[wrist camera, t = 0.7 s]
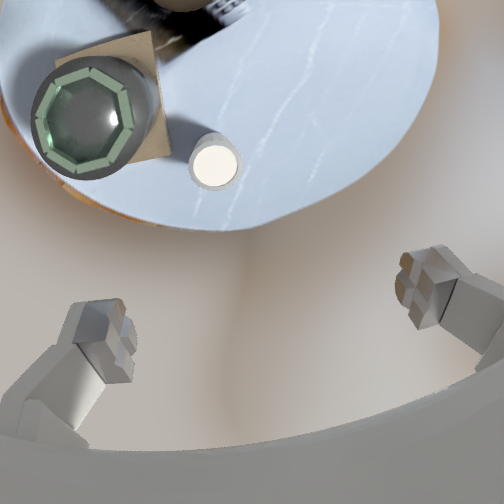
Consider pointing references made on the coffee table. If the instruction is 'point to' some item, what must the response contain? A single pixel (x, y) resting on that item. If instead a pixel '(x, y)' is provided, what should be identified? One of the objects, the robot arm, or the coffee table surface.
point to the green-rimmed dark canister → (102, 109)
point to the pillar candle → (182, 4)
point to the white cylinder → (215, 162)
